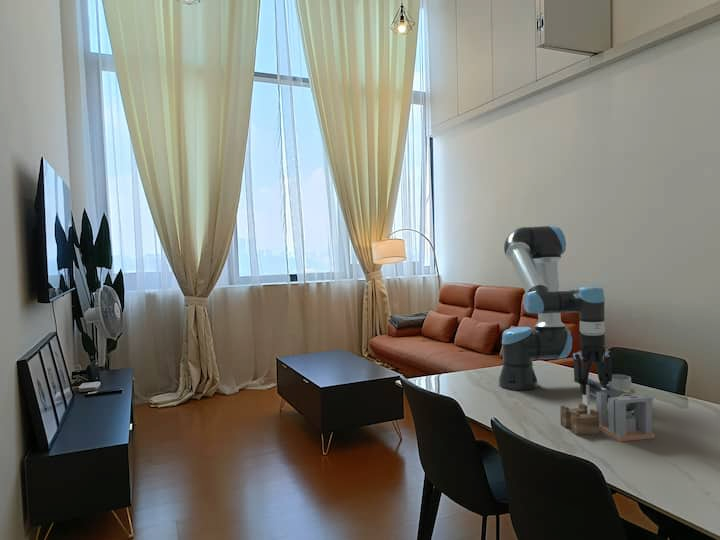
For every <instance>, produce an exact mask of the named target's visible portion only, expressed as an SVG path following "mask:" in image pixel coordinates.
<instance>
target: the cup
mask: <svg viewBox="0 0 720 540" xmlns="http://www.w3.org/2000/svg"><path fill="white" fill-rule="evenodd" d="M624 385H628V386H624ZM606 386H609V387H611V388H613V389H616V390H618V391H621V390H619V389H621V388H622V389H624V390H628V391H630V390H629V389H630V388H632V377H631V376H628V375H626V374H618V373H617V374H612V381H611V382H608V384H607V385H606Z"/></svg>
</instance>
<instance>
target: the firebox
mask: <svg viewBox="0 0 720 540" xmlns="http://www.w3.org/2000/svg"><path fill="white" fill-rule="evenodd" d="M621 392H623V393H625V394H628V395H630V396H622V397H612V398H608V402H607V394H606V393H604V392H596V396H595V398H596V399H595V400H596V403H595V404H596V411H597V412H599V431H601V432H603V433H604V434H607V435H608V436H610V437H612V438H614V440H617V441H619V442H629V441H638V440H639V441H640V440H647V439H650V440H651V439H655V438H656V435H655V433H653V402H654V397H652V396H650V395H648V394H638V395H635V396H632V392H631V391H628V390H621ZM635 402H637V405H636V407H635V409H634V413H632V411H626V403H635Z"/></svg>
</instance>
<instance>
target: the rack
mask: <svg viewBox="0 0 720 540" xmlns="http://www.w3.org/2000/svg"><path fill="white" fill-rule="evenodd" d="M588 410H589V413H588ZM559 411H560V426H562V427H564V428H565V429H570V432H571V433H573V434H574V435H576V436H581V435H591V434H593V435H594V434H600V429H599V412H597V409H596V410H595V409H594V408H590V409H588V405H586V404H584V403H583V402H581V403H580V402H578V407H573V408H572V407H571V408H570V407H569V406H567V405H565V404H560V410H559Z"/></svg>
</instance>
